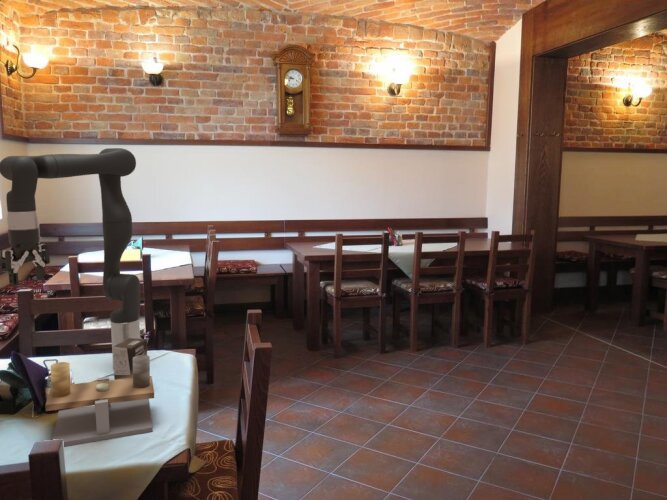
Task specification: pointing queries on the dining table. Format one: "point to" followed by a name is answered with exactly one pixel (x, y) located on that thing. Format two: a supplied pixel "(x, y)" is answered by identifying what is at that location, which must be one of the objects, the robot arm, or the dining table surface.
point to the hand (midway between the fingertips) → (27, 282)
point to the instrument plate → (99, 387)
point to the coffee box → (127, 356)
